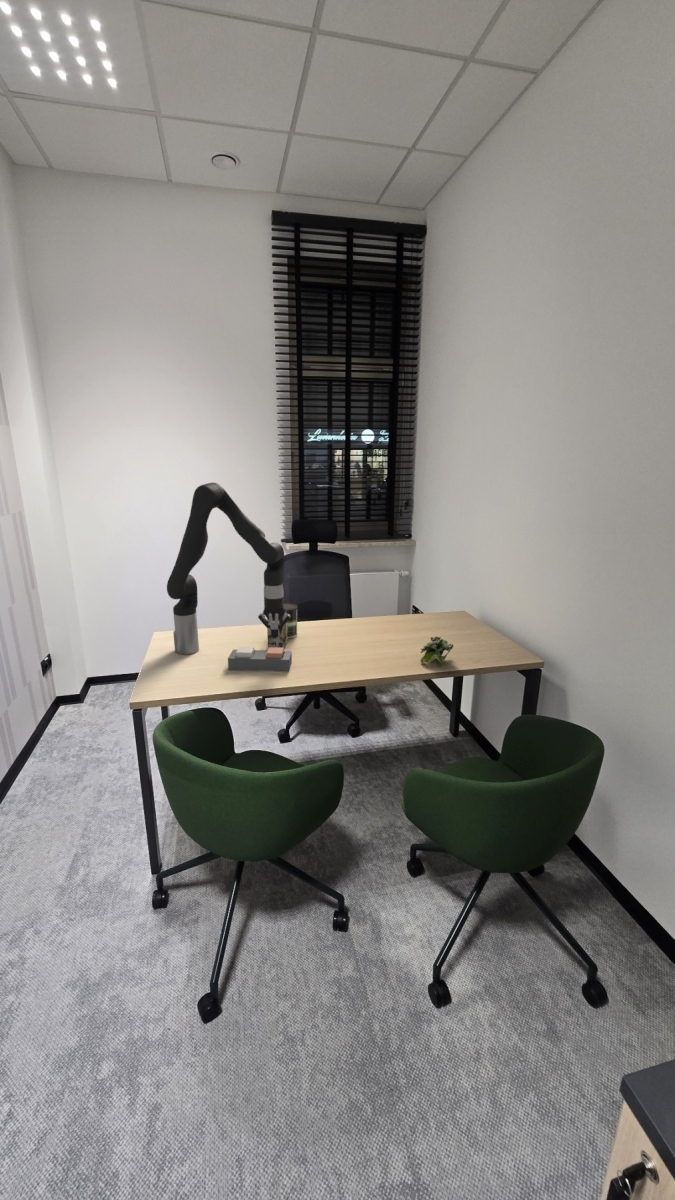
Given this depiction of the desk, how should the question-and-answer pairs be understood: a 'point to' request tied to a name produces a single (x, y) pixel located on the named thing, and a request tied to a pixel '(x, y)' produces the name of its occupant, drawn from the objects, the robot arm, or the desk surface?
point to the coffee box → (282, 637)
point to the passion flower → (435, 650)
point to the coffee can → (291, 619)
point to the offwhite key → (245, 652)
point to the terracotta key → (275, 652)
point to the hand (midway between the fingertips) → (275, 637)
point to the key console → (260, 662)
